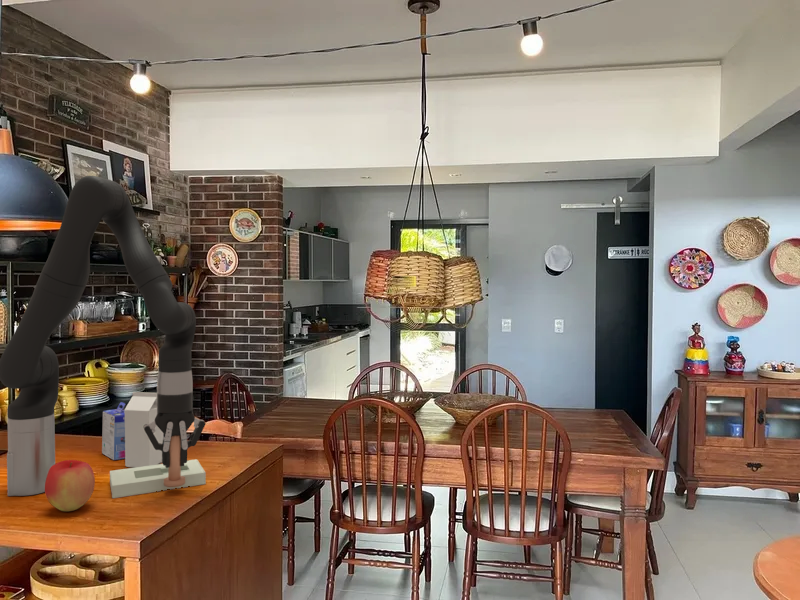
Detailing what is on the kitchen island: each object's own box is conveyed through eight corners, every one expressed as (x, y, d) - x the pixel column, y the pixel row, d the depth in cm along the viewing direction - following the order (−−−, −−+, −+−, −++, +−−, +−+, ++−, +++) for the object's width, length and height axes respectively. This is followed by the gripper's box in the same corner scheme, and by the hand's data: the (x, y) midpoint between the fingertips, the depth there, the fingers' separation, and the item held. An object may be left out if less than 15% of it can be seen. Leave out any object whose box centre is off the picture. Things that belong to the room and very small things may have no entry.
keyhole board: (112, 498, 133) (112, 485, 133) (110, 482, 143) (109, 470, 143) (205, 484, 142) (205, 472, 142) (196, 470, 153) (196, 459, 153)
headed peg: (165, 488, 133) (165, 438, 133) (162, 482, 137) (162, 434, 137) (186, 485, 135) (187, 436, 135) (183, 479, 139) (183, 432, 139)
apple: (33, 516, 122) (32, 468, 122) (65, 500, 132) (64, 455, 131) (76, 519, 121) (75, 470, 121) (106, 502, 130) (105, 456, 130)
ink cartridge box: (135, 457, 164) (134, 404, 164) (114, 461, 160) (113, 407, 160) (122, 450, 171) (121, 399, 171) (101, 454, 168) (100, 402, 167)
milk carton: (149, 468, 154) (148, 395, 153) (125, 467, 155) (124, 394, 155) (165, 460, 161) (164, 390, 160) (142, 459, 162) (141, 389, 162)
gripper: (143, 395, 129) (143, 475, 130) (209, 390, 136) (209, 466, 136) (140, 389, 136) (139, 465, 136) (203, 385, 142) (203, 457, 143)
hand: (174, 465), depth 136 cm, fingers closed on headed peg, 2 cm apart
